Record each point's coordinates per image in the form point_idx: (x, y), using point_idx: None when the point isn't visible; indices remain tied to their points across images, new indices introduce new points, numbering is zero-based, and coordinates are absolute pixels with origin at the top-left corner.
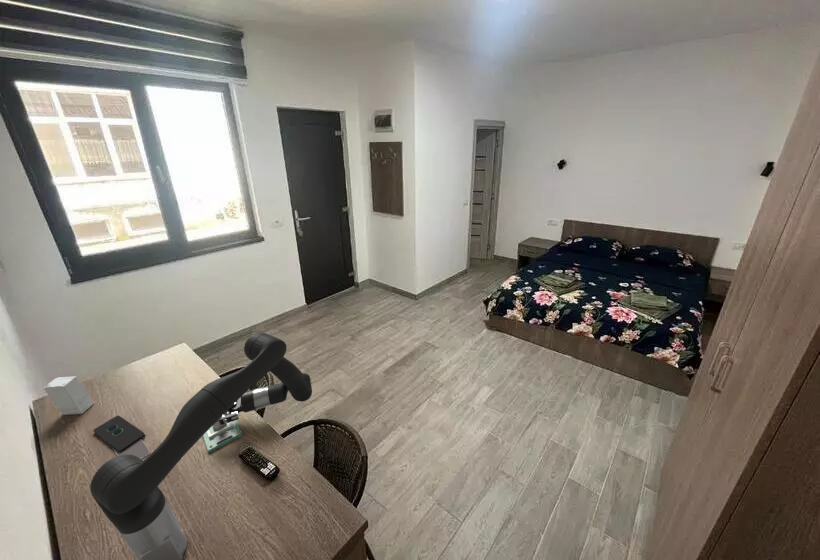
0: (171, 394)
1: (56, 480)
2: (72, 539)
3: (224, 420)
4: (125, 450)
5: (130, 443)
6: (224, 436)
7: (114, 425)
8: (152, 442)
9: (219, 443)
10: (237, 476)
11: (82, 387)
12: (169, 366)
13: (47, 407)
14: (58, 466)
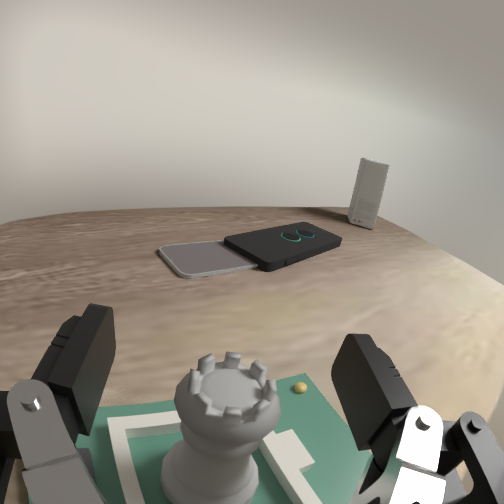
0: (421, 299)
1: (198, 208)
2: (40, 218)
3: (2, 470)
4: (225, 248)
5: (240, 247)
6: None
7: (312, 234)
8: (232, 282)
9: None
10: None
11: (381, 189)
12: (483, 287)
13: None
14: (232, 209)
